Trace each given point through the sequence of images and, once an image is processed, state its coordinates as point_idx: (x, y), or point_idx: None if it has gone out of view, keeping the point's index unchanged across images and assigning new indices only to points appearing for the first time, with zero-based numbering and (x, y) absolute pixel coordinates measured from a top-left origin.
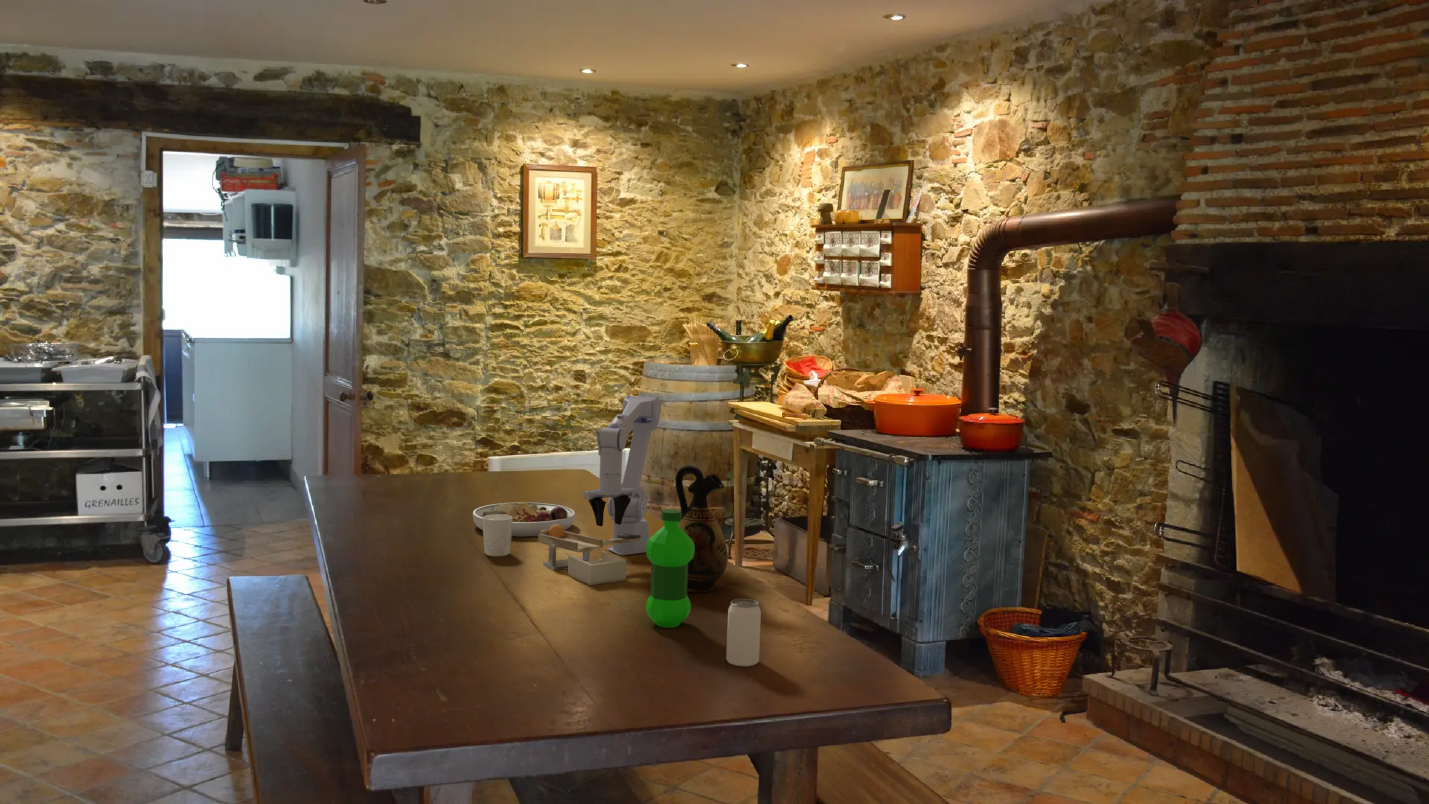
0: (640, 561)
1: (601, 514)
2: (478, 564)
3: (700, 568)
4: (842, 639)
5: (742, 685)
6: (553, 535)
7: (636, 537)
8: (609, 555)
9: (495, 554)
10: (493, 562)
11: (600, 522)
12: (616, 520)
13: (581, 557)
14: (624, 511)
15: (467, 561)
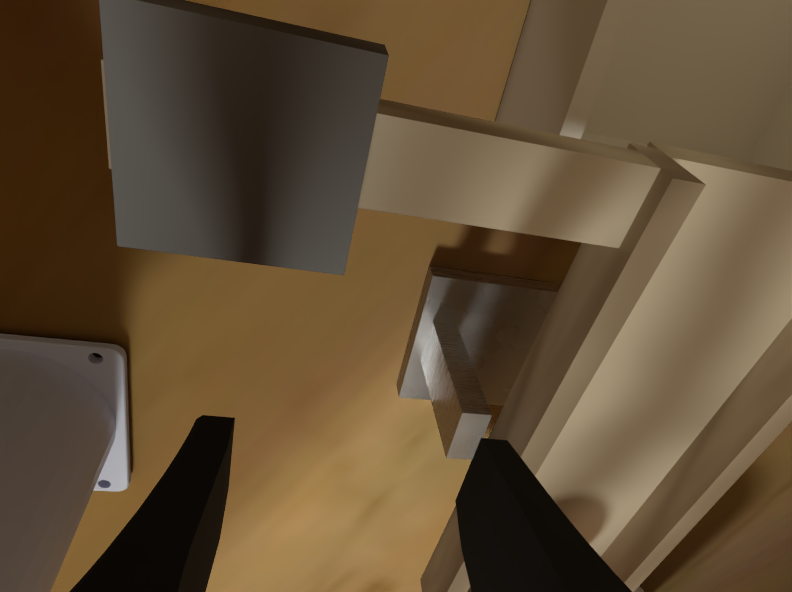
0: (67, 154)
1: (586, 568)
2: (776, 527)
3: None
4: None
5: None
6: None
7: (199, 4)
8: (624, 13)
9: (638, 589)
10: (717, 526)
11: (533, 475)
12: (223, 501)
13: (417, 396)
14: (104, 571)
15: (756, 568)
